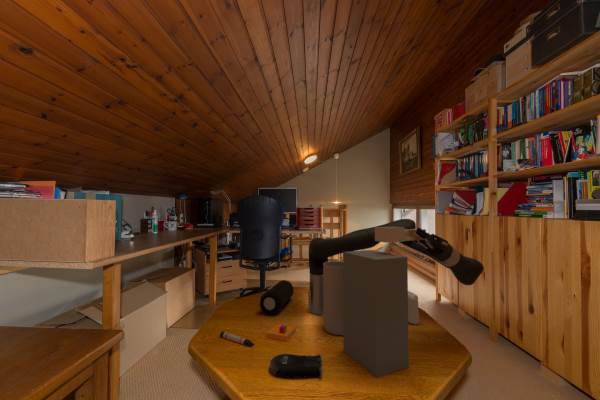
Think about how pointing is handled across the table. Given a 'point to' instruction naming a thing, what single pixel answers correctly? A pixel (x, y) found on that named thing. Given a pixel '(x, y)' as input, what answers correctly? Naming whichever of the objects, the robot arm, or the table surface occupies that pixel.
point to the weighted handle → (396, 234)
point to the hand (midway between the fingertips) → (413, 230)
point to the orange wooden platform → (281, 332)
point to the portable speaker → (276, 297)
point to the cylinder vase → (333, 297)
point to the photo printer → (413, 308)
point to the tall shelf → (376, 310)
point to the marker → (236, 339)
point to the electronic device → (296, 366)
